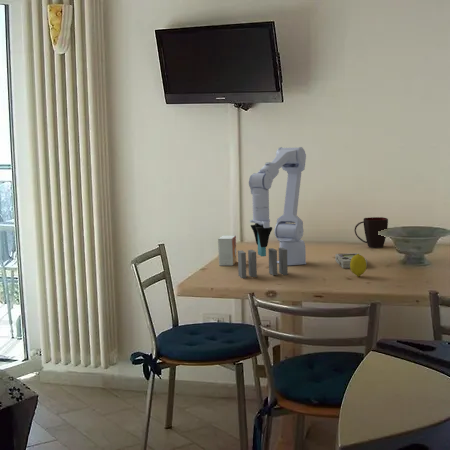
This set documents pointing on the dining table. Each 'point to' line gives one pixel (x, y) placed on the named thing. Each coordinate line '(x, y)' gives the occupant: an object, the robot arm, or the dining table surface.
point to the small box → (227, 250)
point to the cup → (374, 231)
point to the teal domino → (261, 248)
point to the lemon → (358, 265)
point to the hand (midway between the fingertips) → (261, 245)
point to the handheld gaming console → (345, 259)
